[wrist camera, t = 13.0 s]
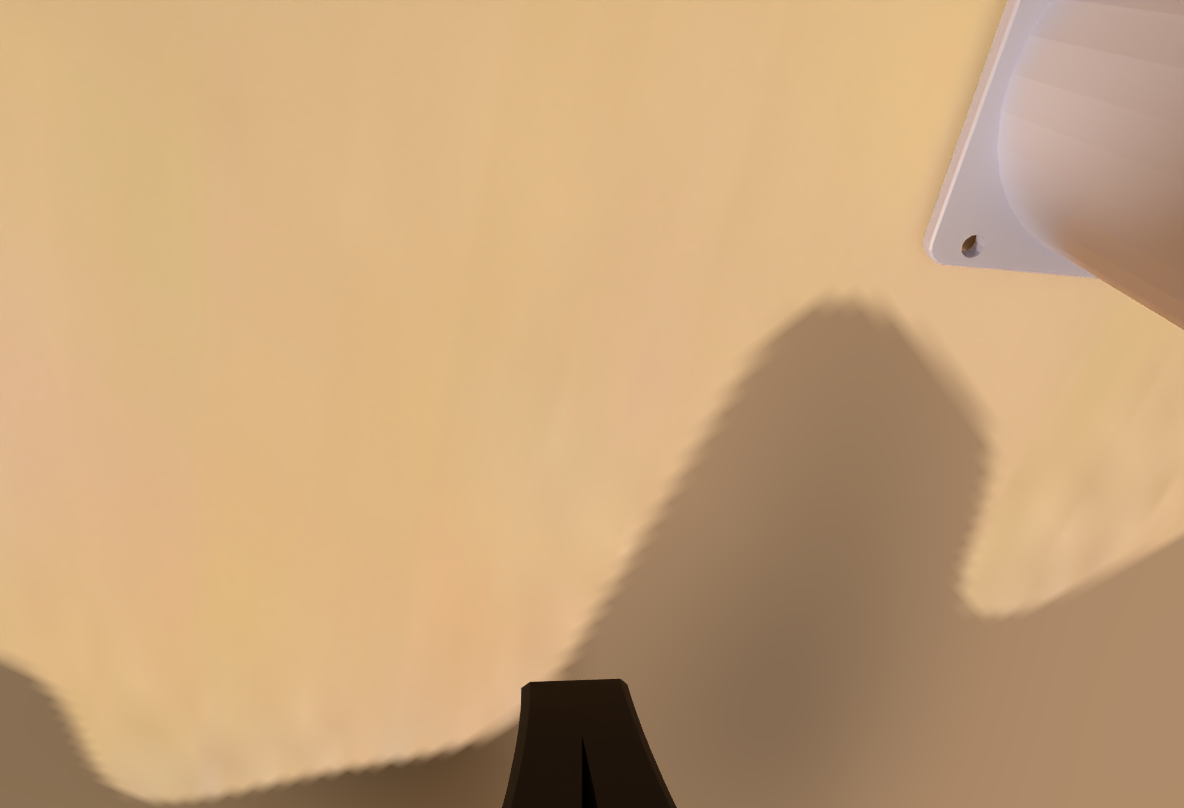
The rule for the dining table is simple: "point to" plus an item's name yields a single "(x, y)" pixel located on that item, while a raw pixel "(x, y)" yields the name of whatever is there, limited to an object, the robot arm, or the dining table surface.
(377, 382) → the dining table surface
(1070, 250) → the robot arm
